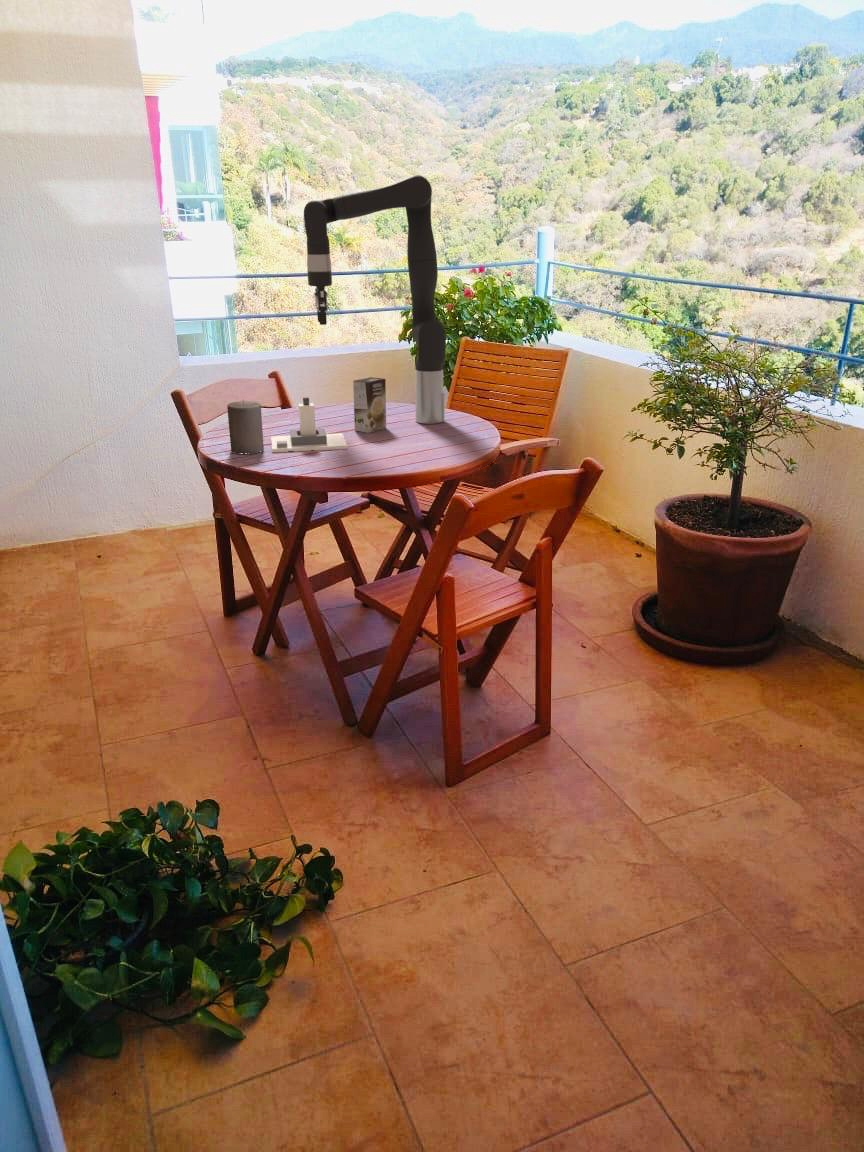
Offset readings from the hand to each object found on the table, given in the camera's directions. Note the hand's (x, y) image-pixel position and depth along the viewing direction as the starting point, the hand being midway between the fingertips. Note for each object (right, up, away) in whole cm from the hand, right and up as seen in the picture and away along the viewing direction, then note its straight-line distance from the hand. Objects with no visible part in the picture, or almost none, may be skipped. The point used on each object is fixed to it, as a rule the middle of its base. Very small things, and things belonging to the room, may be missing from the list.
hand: (322, 323), depth 269 cm
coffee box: (+15, -34, +2) cm, 38 cm away
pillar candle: (-19, -45, -23) cm, 54 cm away
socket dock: (-2, -42, -16) cm, 45 cm away
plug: (-2, -41, -16) cm, 44 cm away
